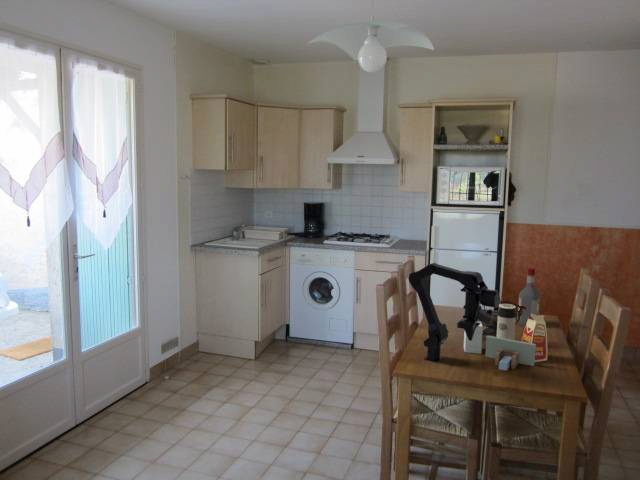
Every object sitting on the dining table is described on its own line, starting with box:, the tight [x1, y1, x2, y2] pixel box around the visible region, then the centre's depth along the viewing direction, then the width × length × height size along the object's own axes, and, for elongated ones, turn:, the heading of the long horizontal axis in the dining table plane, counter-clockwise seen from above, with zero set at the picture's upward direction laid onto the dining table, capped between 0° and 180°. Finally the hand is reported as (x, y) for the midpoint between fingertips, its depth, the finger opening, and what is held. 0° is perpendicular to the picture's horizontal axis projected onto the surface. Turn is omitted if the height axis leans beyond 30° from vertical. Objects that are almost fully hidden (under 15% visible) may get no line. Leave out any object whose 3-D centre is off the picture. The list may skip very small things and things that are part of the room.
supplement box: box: [463, 321, 484, 354], centre depth 235 cm, size 7×7×13 cm
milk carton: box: [521, 314, 548, 363], centre depth 226 cm, size 9×9×20 cm
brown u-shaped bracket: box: [494, 349, 519, 370], centre depth 219 cm, size 7×8×5 cm
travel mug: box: [496, 303, 517, 340], centre depth 245 cm, size 8×8×18 cm
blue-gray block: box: [498, 356, 512, 371], centre depth 217 cm, size 9×3×3 cm, turn 147°
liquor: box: [517, 267, 541, 327], centre depth 274 cm, size 9×9×30 cm
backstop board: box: [485, 335, 536, 367], centre depth 224 cm, size 2×20×9 cm, turn 58°
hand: (470, 340), depth 213 cm, fingers closed
